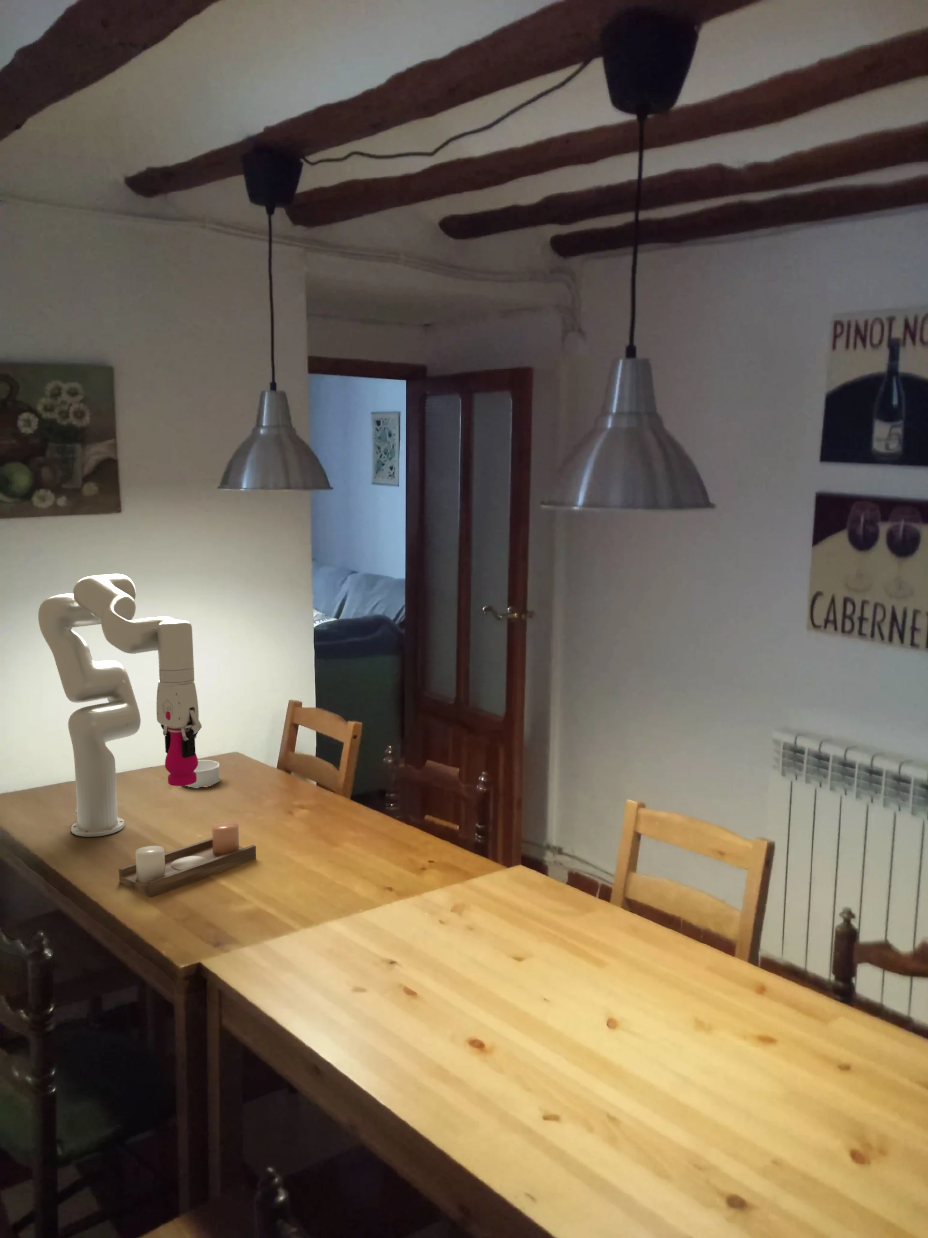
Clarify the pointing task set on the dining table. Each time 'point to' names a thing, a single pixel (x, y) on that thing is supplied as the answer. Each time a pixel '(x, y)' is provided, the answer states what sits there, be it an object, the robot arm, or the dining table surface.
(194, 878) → the rail
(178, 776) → the pepper mill
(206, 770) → the saucepan
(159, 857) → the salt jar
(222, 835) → the pink pillar candle
